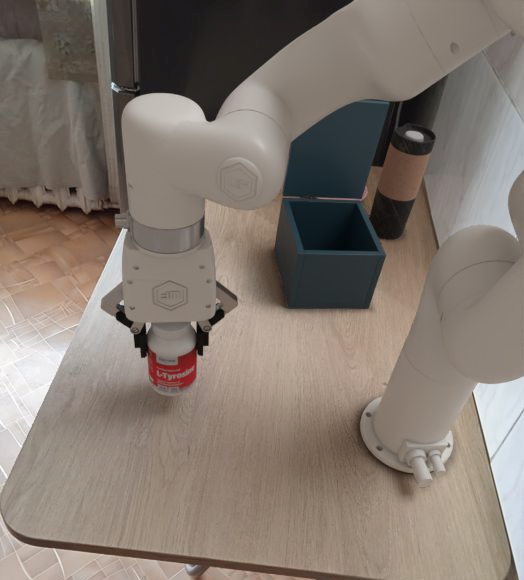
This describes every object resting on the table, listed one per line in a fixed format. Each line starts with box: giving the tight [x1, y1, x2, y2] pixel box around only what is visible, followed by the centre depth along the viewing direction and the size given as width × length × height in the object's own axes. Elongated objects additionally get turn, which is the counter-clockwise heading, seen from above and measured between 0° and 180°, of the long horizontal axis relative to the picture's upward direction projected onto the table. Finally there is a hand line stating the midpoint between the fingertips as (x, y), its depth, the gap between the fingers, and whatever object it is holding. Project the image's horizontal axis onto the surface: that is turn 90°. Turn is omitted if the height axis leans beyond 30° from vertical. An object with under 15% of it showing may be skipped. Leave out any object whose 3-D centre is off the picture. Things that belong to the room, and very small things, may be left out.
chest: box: [273, 197, 387, 309], centre depth 96 cm, size 16×14×11 cm
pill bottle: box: [146, 322, 198, 397], centre depth 71 cm, size 6×6×11 cm
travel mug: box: [368, 123, 437, 240], centre depth 107 cm, size 8×8×20 cm
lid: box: [281, 99, 390, 199], centre depth 92 cm, size 17×14×5 cm
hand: (172, 348), depth 71 cm, fingers closed on pill bottle, 6 cm apart
